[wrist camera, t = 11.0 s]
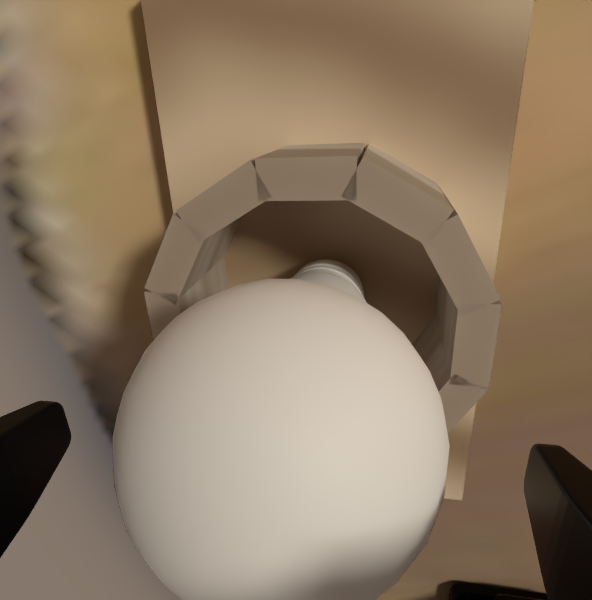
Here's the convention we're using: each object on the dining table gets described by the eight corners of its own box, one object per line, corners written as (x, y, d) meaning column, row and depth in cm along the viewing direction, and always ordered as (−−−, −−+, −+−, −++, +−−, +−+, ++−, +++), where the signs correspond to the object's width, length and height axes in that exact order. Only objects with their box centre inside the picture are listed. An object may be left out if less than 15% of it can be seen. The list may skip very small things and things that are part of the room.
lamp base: (458, 482, 19) (480, 596, 15) (220, 456, 21) (175, 550, 17) (531, -53, 12) (621, -151, 7) (153, -13, 14) (42, -71, 9)
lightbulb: (233, 332, 17) (28, 639, 7) (265, 177, 15) (10, 329, 5) (385, 379, 17) (384, 770, 7) (446, 228, 14) (584, 513, 4)
